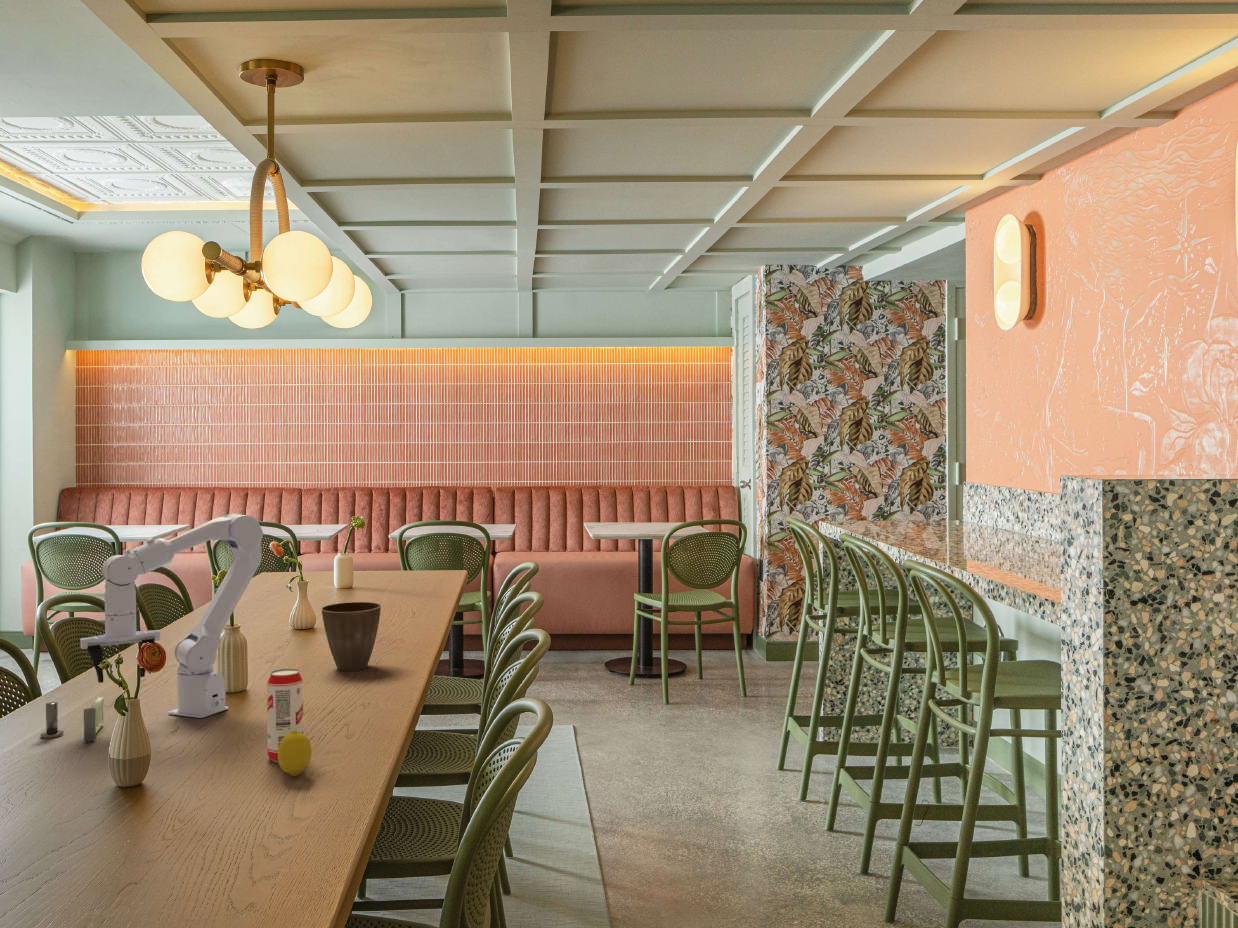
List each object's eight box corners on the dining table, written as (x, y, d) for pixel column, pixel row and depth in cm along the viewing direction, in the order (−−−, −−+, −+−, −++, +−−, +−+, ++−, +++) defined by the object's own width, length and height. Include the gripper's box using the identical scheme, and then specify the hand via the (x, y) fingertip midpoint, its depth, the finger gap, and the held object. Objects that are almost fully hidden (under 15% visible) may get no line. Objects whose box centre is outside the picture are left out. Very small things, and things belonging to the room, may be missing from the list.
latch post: (68, 733, 190) (68, 701, 190) (49, 739, 186) (49, 706, 186) (54, 731, 192) (53, 699, 192) (35, 737, 188) (35, 704, 188)
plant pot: (372, 674, 239) (371, 611, 239) (313, 674, 239) (313, 611, 239) (388, 661, 254) (387, 601, 254) (332, 661, 254) (332, 601, 254)
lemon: (300, 768, 169) (299, 723, 169) (317, 775, 165) (317, 729, 165) (271, 776, 165) (271, 730, 165) (289, 783, 161) (288, 737, 161)
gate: (94, 740, 185) (94, 710, 185) (83, 741, 184) (82, 710, 184) (107, 723, 196) (106, 694, 196) (96, 724, 196) (95, 695, 196)
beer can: (266, 765, 171) (265, 676, 170) (269, 754, 177) (268, 669, 176) (302, 762, 172) (302, 674, 172) (304, 751, 178) (303, 666, 178)
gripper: (83, 620, 189) (84, 687, 189) (162, 612, 198) (163, 677, 198) (78, 615, 195) (79, 681, 195) (155, 607, 203) (156, 670, 204)
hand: (121, 678), depth 197 cm, fingers open, 7 cm apart
